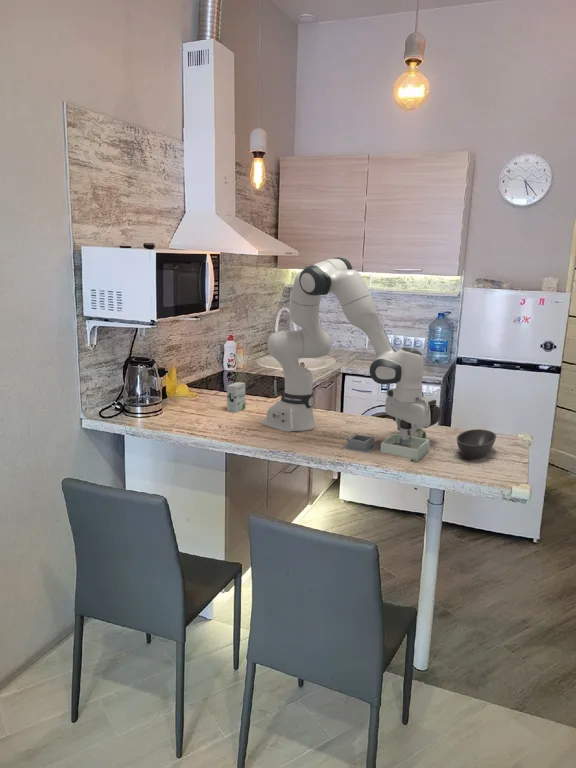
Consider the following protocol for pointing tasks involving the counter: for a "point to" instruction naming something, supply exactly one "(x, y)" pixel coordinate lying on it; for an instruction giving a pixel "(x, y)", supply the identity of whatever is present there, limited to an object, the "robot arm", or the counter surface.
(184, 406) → the counter surface
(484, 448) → the bowl
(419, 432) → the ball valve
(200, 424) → the counter surface
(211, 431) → the counter surface
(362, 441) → the socket block
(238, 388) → the ink box
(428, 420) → the robot arm
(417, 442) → the bin
